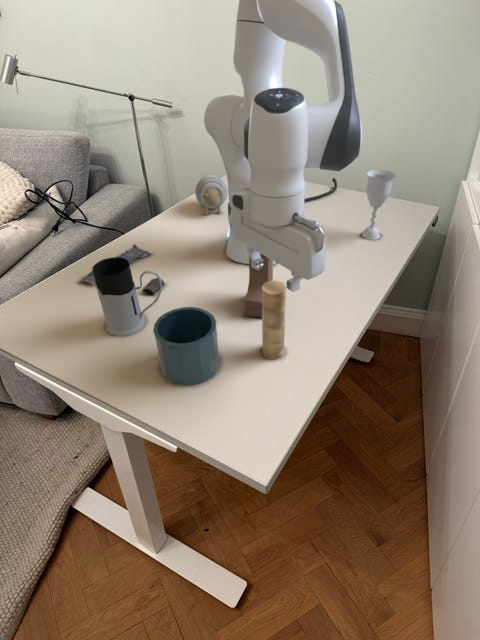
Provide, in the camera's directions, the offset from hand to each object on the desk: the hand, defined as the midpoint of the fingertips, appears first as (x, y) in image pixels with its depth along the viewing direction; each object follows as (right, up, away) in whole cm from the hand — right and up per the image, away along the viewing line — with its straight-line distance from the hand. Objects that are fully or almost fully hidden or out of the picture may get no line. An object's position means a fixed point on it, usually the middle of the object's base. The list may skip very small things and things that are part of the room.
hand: (274, 278), depth 78 cm
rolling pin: (+1, -14, +11) cm, 18 cm away
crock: (-16, -16, +9) cm, 25 cm away
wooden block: (-2, -4, +24) cm, 24 cm away
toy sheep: (-15, +30, +68) cm, 76 cm away
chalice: (+32, +17, +49) cm, 61 cm away
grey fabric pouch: (-40, +7, +40) cm, 57 cm away
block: (-28, 0, +32) cm, 42 cm away
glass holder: (-29, -8, +20) cm, 37 cm away
